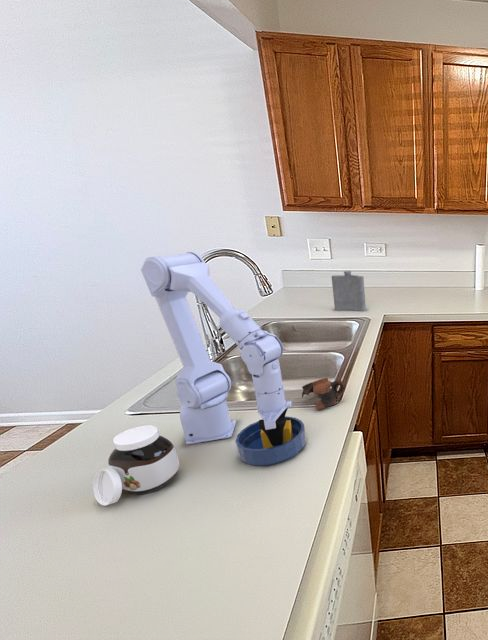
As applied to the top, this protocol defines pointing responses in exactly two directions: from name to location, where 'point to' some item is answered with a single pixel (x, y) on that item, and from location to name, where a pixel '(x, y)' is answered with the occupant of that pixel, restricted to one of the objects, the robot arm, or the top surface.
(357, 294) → the hip flask
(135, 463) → the spread jar
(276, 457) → the bowl
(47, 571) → the top surface
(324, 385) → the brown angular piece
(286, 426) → the sponge
